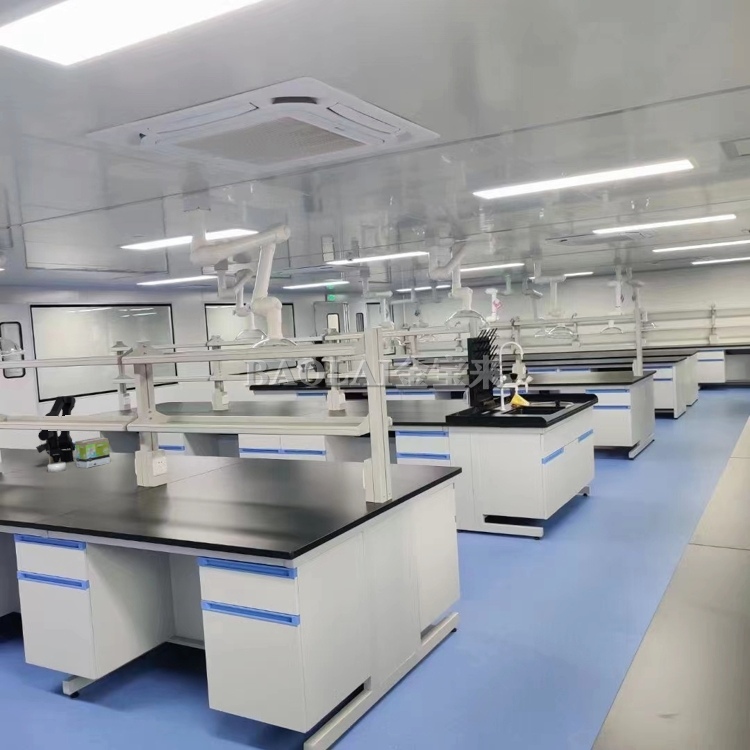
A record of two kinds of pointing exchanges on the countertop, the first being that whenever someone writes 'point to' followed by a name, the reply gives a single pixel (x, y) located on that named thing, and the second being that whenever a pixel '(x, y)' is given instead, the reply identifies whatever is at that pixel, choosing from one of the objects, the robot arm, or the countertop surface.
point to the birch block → (51, 460)
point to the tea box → (92, 452)
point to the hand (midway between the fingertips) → (54, 465)
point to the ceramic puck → (57, 467)
